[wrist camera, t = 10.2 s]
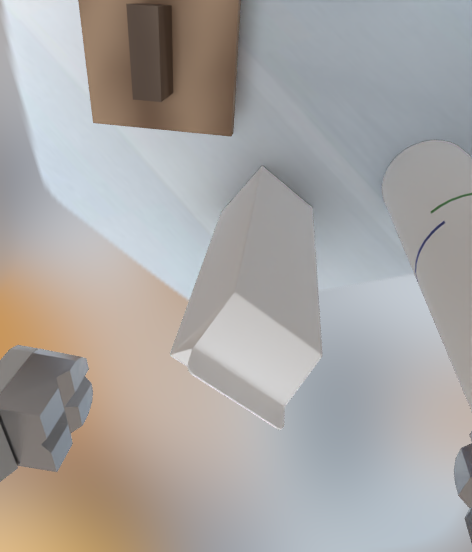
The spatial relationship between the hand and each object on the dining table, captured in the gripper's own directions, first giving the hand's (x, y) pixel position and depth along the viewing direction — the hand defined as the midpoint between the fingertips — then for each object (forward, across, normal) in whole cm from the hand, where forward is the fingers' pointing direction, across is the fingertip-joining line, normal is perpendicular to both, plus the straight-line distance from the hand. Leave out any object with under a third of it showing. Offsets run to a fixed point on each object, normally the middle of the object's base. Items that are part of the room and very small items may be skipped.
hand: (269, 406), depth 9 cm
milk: (+30, +2, +9) cm, 31 cm away
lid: (+25, +10, -3) cm, 27 cm away
